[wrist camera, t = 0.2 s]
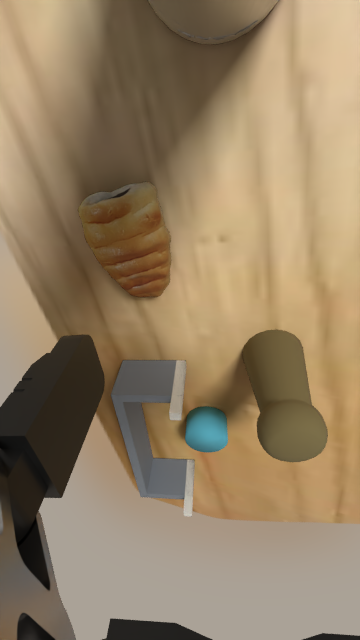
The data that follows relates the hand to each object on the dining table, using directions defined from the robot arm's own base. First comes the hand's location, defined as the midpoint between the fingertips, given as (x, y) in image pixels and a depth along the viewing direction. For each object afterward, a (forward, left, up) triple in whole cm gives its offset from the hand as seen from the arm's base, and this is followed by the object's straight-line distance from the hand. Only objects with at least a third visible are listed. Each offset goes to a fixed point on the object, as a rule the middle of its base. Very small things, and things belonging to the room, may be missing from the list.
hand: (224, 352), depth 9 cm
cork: (+15, +6, -18) cm, 24 cm away
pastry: (+2, -7, -18) cm, 20 cm away
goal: (+26, -6, -18) cm, 32 cm away
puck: (+26, -1, -18) cm, 32 cm away
